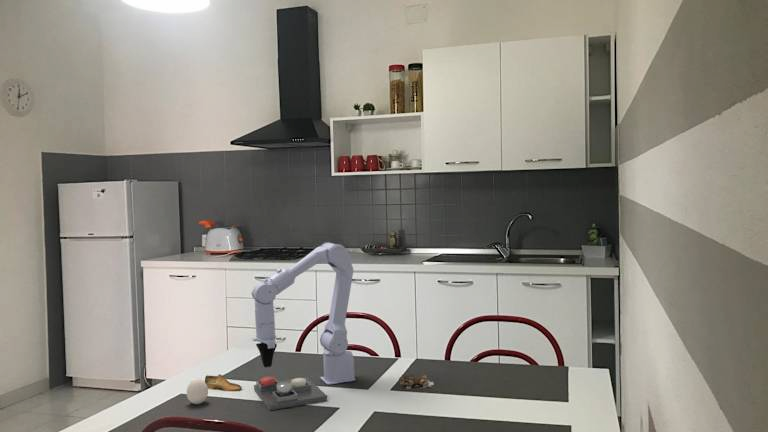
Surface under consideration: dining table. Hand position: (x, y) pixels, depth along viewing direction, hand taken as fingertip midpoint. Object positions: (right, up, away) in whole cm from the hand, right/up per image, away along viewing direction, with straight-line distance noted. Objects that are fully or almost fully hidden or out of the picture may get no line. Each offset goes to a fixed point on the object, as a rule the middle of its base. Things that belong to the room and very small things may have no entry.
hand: (267, 366), depth 200 cm
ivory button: (+10, -6, -2) cm, 12 cm away
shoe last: (-15, -9, +6) cm, 18 cm away
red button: (0, -6, 0) cm, 6 cm away
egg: (-19, -9, -8) cm, 23 cm away
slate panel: (+7, -8, -3) cm, 11 cm away
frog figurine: (+46, -7, +3) cm, 46 cm away
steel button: (+7, -5, -10) cm, 14 cm away
